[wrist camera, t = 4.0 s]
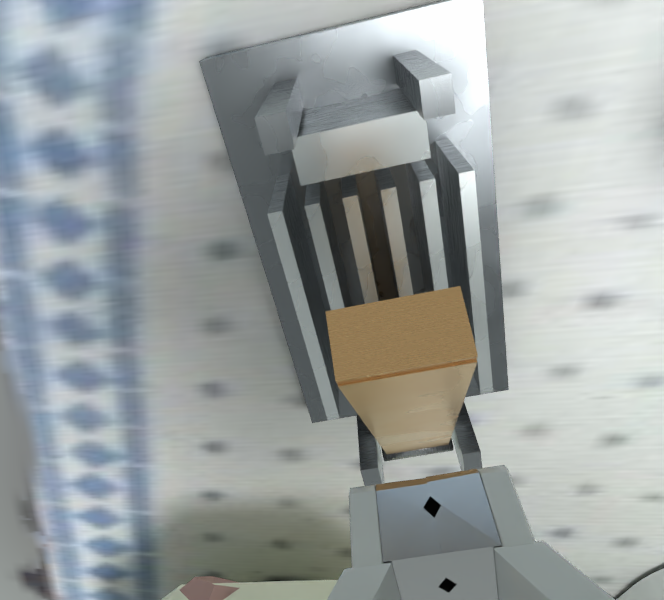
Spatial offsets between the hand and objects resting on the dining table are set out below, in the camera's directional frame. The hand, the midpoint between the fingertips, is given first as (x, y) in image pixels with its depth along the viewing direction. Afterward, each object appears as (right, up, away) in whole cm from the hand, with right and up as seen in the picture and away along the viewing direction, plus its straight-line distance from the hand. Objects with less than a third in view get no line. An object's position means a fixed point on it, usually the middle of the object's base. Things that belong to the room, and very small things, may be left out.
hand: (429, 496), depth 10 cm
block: (+1, +1, +9) cm, 9 cm away
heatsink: (+1, +7, +18) cm, 20 cm away
